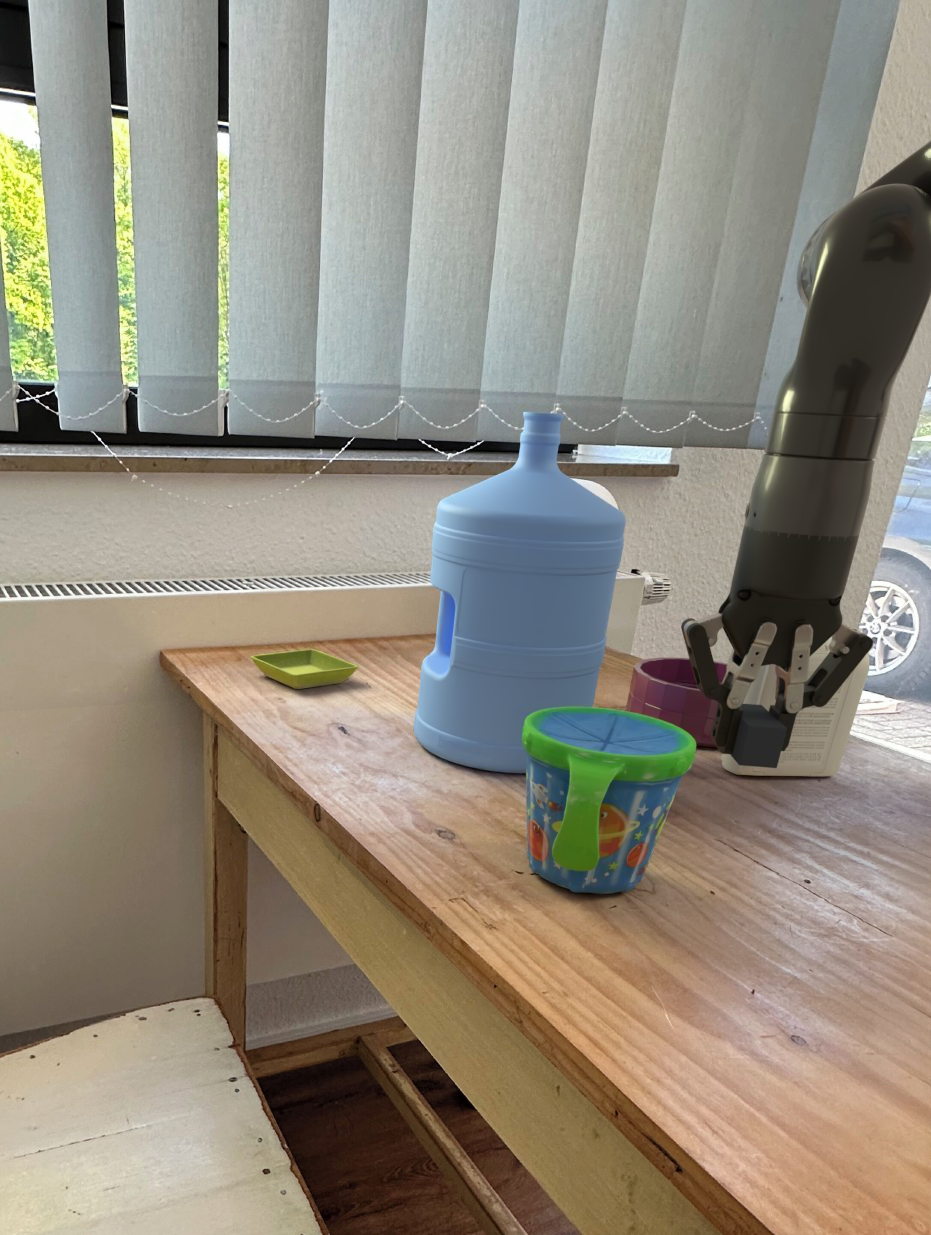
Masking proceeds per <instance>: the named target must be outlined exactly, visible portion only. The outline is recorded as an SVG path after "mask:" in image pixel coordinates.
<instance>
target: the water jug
mask: <svg viewBox="0 0 931 1235" xmlns="http://www.w3.org/2000/svg"><path fill="white" fill-rule="evenodd" d="M522 417H523V419H524V423H523V430H522V432H521V433H520V437H519V442H520V446H519V453H518V458H517V461H516V462H515V464H514V465H513V466H512V467H511V468H509V469H507V470H505V471H502V472H501V473H498V474H496V475H494V476H491V477H489V478H487V479H485V480H482V481H480V482H478V483H475V484H473V485H471V486H469V487H467V488H465V489H462V490H460V491H457V492H455V493H453V494H451V495H448V496H446V497H444V498H442V499H441V500H440V501H439V502H438V504H437V508H436V517H435V522H434V525H433V530H432V538H431V539H432V540H431V553H432V557H431V566H430V575H429V583H430V584H431V585H432V586H433V587H434V588H435V589H437V590H439V591H440V594H439V595H440V596H439V604H438V614H437V623H436V634H435V642H434V648H433V650H432V651H431V652H430V653H429V654H428V655H427V656H425V658H424V659H423V661H421V668H420V675H419V686H418V687H419V688H418V698H417V707H416V709H415V712H414V719H413V721H414V722H413V732H414V736H415V738H416V740H417V742H418V743H419V744H420V745H421V746H422V747H423V748H424V749H425V750H426V751H428V752H429V753H431V754H434V755H435V756H437V757H438V758H440V759H443V760H446V761H448V762H451V763H454V764H457V765H460V766H464V767H467V768H471V769H472V768H473V769H477V770H482V771H483V770H484V771H489V772H498V773H506V774H526V769H527V766H526V765H527V755H526V751H525V748H524V746H523V743H522V731H523V726H524V722H525V719H526V717H527V716H529V715H530V714H532V713H534V712H536V711H539V710H543V709H548V708H557V707H574V706H576V707H594V704H595V698H596V693H597V687H598V681H599V675H600V669H601V667H602V666H603V662H604V658H605V652H606V647H607V630H608V625H609V620H610V613H611V608H612V601H613V596H614V591H615V586H616V579H617V574H618V569H619V568H620V567H621V566H620V565H621V562H622V558H623V550H624V546H625V544H624V543H625V537H624V533H625V527H626V523H627V518H626V515H625V513H623V511H621V510H620V509H618V508H617V507H615V506H613V505H612V504H610V502H608V501H606V500H604V499H603V498H602V497H600V496H599V495H596V493H594V492H592V491H591V490H589V489H587V487H585V486H584V485H581V484H580V483H579V482H577V481H575V480H574V479H572V478H571V477H570V476H569V475H566V474H565V473H563V472H562V470H560V468H559V465H558V452H559V446H560V444H561V439H562V436H561V434H560V433H561V432H560V431H561V423H562V421H563V420H564V418H565V414H564V413H552V412H537V411H536V412H535V411H523V414H522Z"/></svg>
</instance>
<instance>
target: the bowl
mask: <svg viewBox="0 0 931 1235" xmlns="http://www.w3.org/2000/svg"><path fill="white" fill-rule="evenodd" d="M714 664H715V668H716V672H717V676H718V680H719V682H721V683H722V681H723V679H724V676H725V674H726V670H727V668H726V667H727V663H726V662H721V661H715V660H714ZM717 705H718V703H717V701H715V700H713V699H709V698H707V697H706V696H705V695H704V694H703V693H702V692H701V691H700V690H699V689H698V687H697V685H696V681H695V677H694V674H693V670H692V666H691V663H690V659H689V657H653V658H645V659H642V660H639V661H637V662H635V664H634V666H633V670H632V674H631V680H630V685H629V691H628V696H627V702H626V706H625V711H628V712H632V713H638V714H642V715H646V716H649V717H653V718H656V719H659V720H663V721H665V722H668V723H670V724H673V725H675V726H677V727H679V728H681V729H683V730H685V731H686V732H687V733H689V734H690V735H691V736H692V737H693V738H694V739H695V742H696V747H704V748H717V745H716V744H715V743H714V742H713V741H712V736H711V732H712V728H713V723H714V719H715V714H716V710H717Z"/></svg>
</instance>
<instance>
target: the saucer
mask: <svg viewBox="0 0 931 1235" xmlns="http://www.w3.org/2000/svg"><path fill="white" fill-rule="evenodd" d="M250 659H251V660H252V662H253V663H254V665H255V666H256V667H257V669H258V670H259V671H260V672H262V674H263V675H264V676H265V677H268V678H270V679H273V680H275V681H277V682H279V683H281V684H283V685H286V686H288V687H290V688H292V689H295V690H302V689H310V688H316V687H324V686H331V685H337V684H341V683H343V682H345V681H346V680H347V679H349V678H350V677H351V676H353V674H354V673H355V672H356V671H358V670H357V669H358V668H359V666H358V665H357V664H354V663H352V662H350V661H347V660H344V659H342V658H339V657H336V656H334V655H331V654H328V653H326V652H323V651H320V650H318V649H315V648H308V649H306V648H305V649H298V650H290V651H289V650H288V651H281V652H280V651H279V652H272V653H263V654H256V655H255V654H254V655H250Z"/></svg>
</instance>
